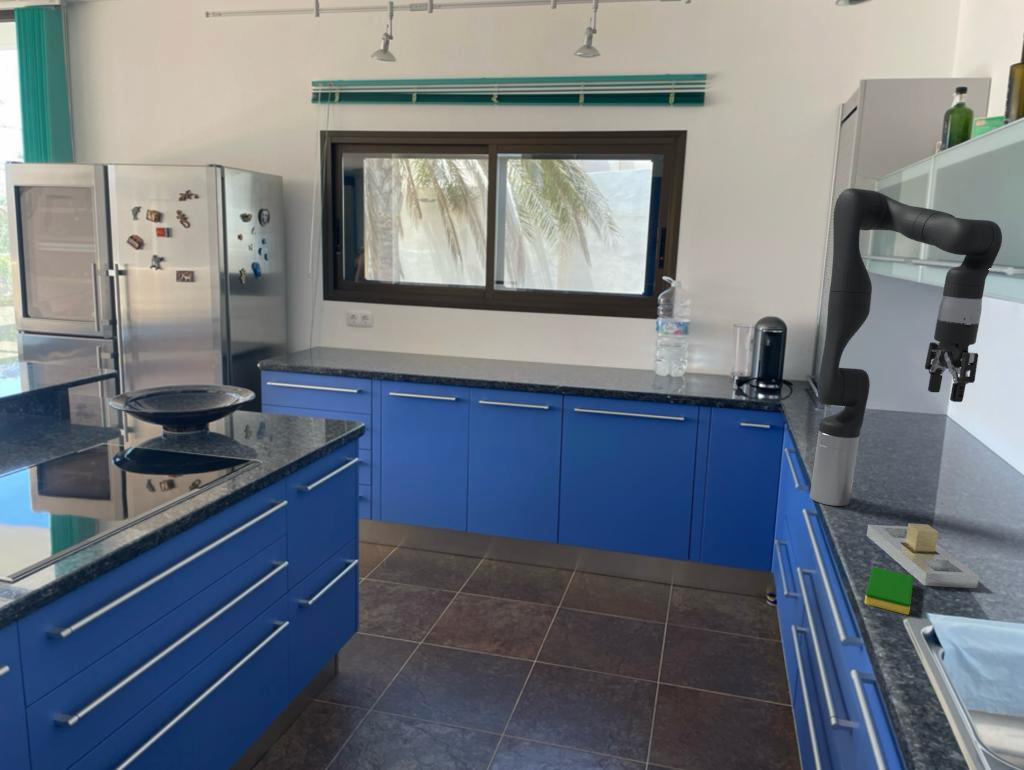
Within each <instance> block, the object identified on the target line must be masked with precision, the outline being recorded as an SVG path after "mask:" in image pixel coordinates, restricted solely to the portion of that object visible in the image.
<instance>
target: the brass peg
mask: <svg viewBox="0 0 1024 770" xmlns="http://www.w3.org/2000/svg"><path fill="white" fill-rule="evenodd" d="M907 527H908V529H907V535H906V541H905V547H906V548H907V549H908V550H910V551H911V552H912V553H916V554H935V548H936V544H937V542H938V541H937V540H938V537H939V536H938V535H939V532H938V531H937V530H936V529H935V528H933V527H932V526H931V525H929V524H924V523H922V524H921V523H909V522H908V524H907Z"/></svg>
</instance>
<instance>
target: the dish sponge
mask: <svg viewBox="0 0 1024 770" xmlns="http://www.w3.org/2000/svg"><path fill="white" fill-rule="evenodd" d="M913 585H914V576H913V575H912V574H909V573H908V574H907V573H902V572H898V571H894V570H889V569H885V568H881V567H877V566H872V567H871V570H870V574H869V578H868V583H867V587H866V591H865V598H864V604H865V605H867V606H872V607H875V608H880V609H883V610H888V611H892V612H895V613H900V614H903V615H910V612H911V611H910V610H911V603H912V594H913Z"/></svg>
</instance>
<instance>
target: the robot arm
mask: <svg viewBox="0 0 1024 770" xmlns="http://www.w3.org/2000/svg"><path fill="white" fill-rule="evenodd" d="M832 220H833V222H832V223H833V225H832V226H833V227H832V228H833V243H832V244H833V249H832V250H833V251H832V252H833V253H832V264H831V265H832V266H831V277H830V284H829V285H830V286H829V293H828V294H829V295H828V305H827V319H826V331H825V340H824V347H823V350H822V358H821V363H820V370H819V373H818V380H817V397H818V401H819V402H820V404H822V405H825V406H837V407H844V408H843V409H842V410H841V411H839V412H837V413H835V414H833V415H829V416H826V417H824V418H822V419H821V420H820V422H819V427H818V434H817V441H816V449H815V455H814V463H813V469H812V470H813V471H812V478H811V484H810V493H809V498H810V499H811V500H813V501H815V502H817V503H821V504H822V505H823V504H824V505H826V506H827V505H829V506H836V507H843V506H848V505H849V504H850V502H851V501H850V500H851V497H852V496H851V495H852V488H853V483H854V477H855V476H854V475H855V470H856V469H855V468H856V463H857V455H858V450H859V441H860V435H861V429H862V426H863V424H864V419H865V413H866V408H867V403H868V399H869V393H870V384H871V383H870V377H869V374H868V372H867V371H866V370H864V369H861V368H848V367H840V362H841V359H842V355H843V352H844V351H845V348H846V347H847V345H848V344H849V342H850V341H851V339H853V337H854V336H855V334H856V333H857V332H858V331H859V330H860V329H861V327H863V325H864V324H865V322H866V320H867V319H868V317H869V315H870V311H871V304H872V303H871V302H872V293H873V292H872V291H873V285H872V280H871V277H870V274H869V272H868V269H867V267H866V265H865V263H864V260H863V258H862V254H861V251H860V250H861V249H860V237H861V236H860V235H861V234H860V233H861V231H890V232H891V231H892V232H897V233H899V234H901V235H902V236H904V237H905V238H908V239H909V240H912V241H915V242H918V243H922V244H925V245H930V246H933V247H936V248H938V249H940V250H941V251H943V252H947V253H949V254H953V255H960V256H964V259H962V262H961V264H959V266H956V267H952V268H950V269H948V271H947V272H946V275H945V280H944V286H943V292H942V297H941V301H940V304H939V307H938V311H937V317H936V323H935V331H934V335H933V336H934V337H933V339H934V340H935V341H937V342H933V341H930V342H929V344H928V349H927V355H926V359H925V365H924V368H925V370H928V374H929V375H930V376H929V381H928V388H927V391H928V392H930V393H939V392H941V391H940V390H941V386H942V381H943V374H944V372H945V371H946V370H948V373H949V374H951V375H952V381H953V383H952V386H951V391H950V396H949V397H950V398H949V400H950V401H951V402H953V403H962V402H963V400H964V397H965V396H964V395H965V391H966V385H968V384H973V383H975V379H976V373H977V369H978V367H977V366H978V360H979V354H978V352H969V346H972V345H975V344H976V343H977V337H978V331H979V326H980V321H981V315H982V306H983V305H982V303H983V297H984V291H985V285H986V284H985V283H986V279H987V276H988V275H989V274H990V271H989V270H988V269H989V268H991V269H992V268H993V265H994V263H995V261H996V258H997V257H998V254H999V252H1000V250H1001V246H1002V243H1003V234H1002V230H1001V227H1000V225H998V224H997V223H996V222H995V221H993V220H986V219H971V218H962V217H955V215H953V214H951V213H948V212H945V211H942V210H941V211H940V210H936V209H933V208H926V207H920V206H912V205H908V204H906V203H902V202H900V201H898V200H897V199H894V198H891V197H889V196H888V195H886V194H884V193H881V192H879V191H876V190H870V189H863V188H862V189H861V188H853V187H852V188H849V187H848V188H847V189H844V190H842V191H841V193H840V194H839V195H838V197H837V199H836V201H835V204H834V210H833V218H832ZM968 372H969V375H968Z"/></svg>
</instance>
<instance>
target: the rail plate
mask: <svg viewBox="0 0 1024 770" xmlns="http://www.w3.org/2000/svg"><path fill="white" fill-rule="evenodd" d="M907 529H908V526H902V525H901V526H899V525H882V524H881V525H880V524H879V525H878V524H868V525H867V531H866V537H868V538H869V539H870V540H871V541H872V542H873V541H874V542H873V543H875V544H876V546H878V547H879V548H880V549H881V550H882V551H884V552H885V553H887V555H889V556H890V557H891V558H892V560H894V561H896V563H898V564H899V565H900V566H901V567H902V568H903V569H905V570H906V571H907V572H908V574H909V575H912V576H913V578H915V579H916V580H918V582H920V584H922V585H923V586H924V587H925V586H926V587H927V586H928V587H945V588H947V587H948V588H949V587H950V588H966V589H978V586H979V579H980V575H979V574H978V573H976V572H974V571H973V570H972V569H971V568H969V567H968V566H967V565H966V564H964V563H963V562H961V561H960V560H959V559H958V558H956V557H954V555H952V554H951V553H950V552H948V551H946V550H945V549H944V548H943V547H941V546H939V545H938V544H937V543H936V548H935V554H916V553H912V552H911V551H910V550H908V549H907V548H906V547H905V541H906V535H907Z"/></svg>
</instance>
